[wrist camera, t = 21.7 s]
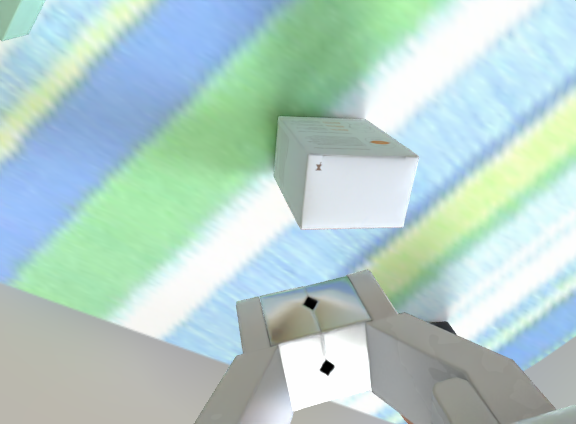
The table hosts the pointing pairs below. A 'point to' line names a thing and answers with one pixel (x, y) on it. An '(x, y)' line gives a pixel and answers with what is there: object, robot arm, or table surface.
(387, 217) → the small box
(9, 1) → the green push button box
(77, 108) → the table surface
